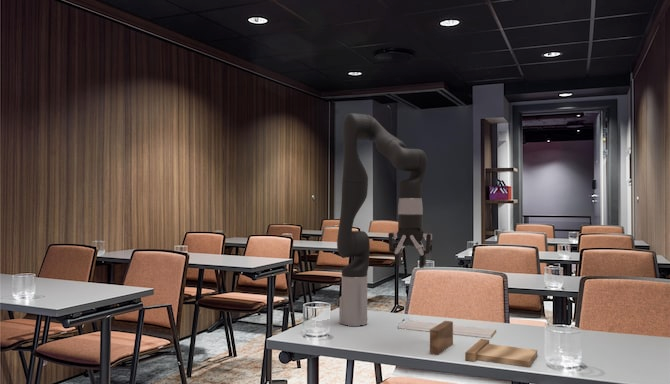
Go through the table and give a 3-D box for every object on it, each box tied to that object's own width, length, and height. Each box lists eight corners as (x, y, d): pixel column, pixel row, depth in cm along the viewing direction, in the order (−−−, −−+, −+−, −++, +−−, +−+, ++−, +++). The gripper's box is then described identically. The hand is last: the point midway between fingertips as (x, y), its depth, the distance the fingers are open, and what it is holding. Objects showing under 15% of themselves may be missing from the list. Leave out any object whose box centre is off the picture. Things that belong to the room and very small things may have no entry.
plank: (429, 354, 155) (429, 329, 155) (444, 343, 167) (444, 320, 167) (438, 355, 154) (438, 330, 154) (452, 344, 166) (452, 321, 166)
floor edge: (465, 360, 148) (465, 352, 148) (480, 346, 163) (480, 338, 163) (528, 369, 140) (528, 360, 140) (538, 353, 155) (538, 345, 155)
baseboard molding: (489, 341, 171) (496, 333, 182) (489, 332, 171) (496, 325, 182) (397, 331, 185) (408, 324, 196) (397, 322, 185) (408, 316, 196)
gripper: (384, 213, 166) (384, 266, 166) (428, 213, 159) (428, 269, 159) (393, 212, 173) (393, 264, 173) (436, 213, 166) (436, 267, 166)
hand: (410, 266), depth 166 cm, fingers open, 7 cm apart
